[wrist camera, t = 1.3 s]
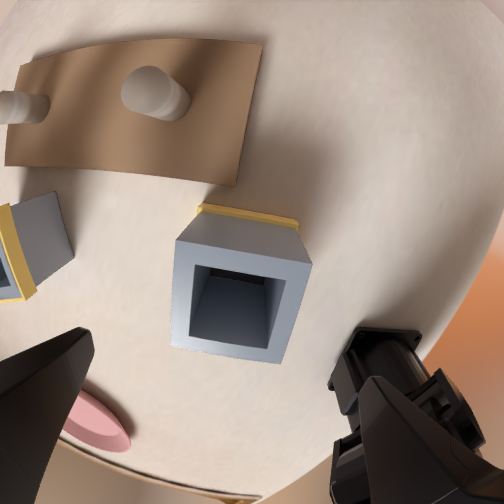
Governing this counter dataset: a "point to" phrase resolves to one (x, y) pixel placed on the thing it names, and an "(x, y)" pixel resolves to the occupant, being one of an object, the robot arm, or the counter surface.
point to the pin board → (135, 133)
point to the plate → (96, 425)
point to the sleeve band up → (31, 246)
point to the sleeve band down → (237, 284)
